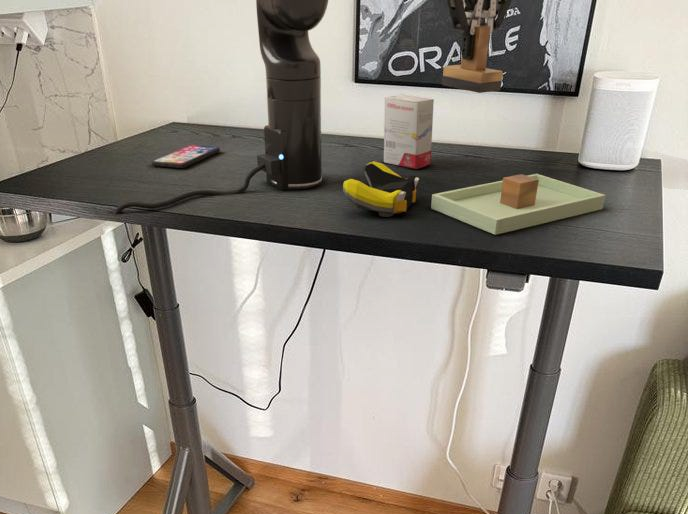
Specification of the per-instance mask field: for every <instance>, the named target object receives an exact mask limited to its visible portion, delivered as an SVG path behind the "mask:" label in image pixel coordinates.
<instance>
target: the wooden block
mask: <svg viewBox="0 0 688 514" xmlns="http://www.w3.org/2000/svg"><path fill="white" fill-rule="evenodd" d="M502 180H503V184H502V191H501V198H500V203H502V204H504V205H507V206H510V207H513V208H515V209H519V208H524V207H528V206H533V205H535V200H536V194H537V188H538V182H539V180H538V179H535V178H532V177H529V176H527V175H525V174H523V173H520V174H514V175H510V176H505V177H503V179H502Z"/></svg>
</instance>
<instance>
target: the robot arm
mask: <svg viewBox="0 0 688 514" xmlns="http://www.w3.org/2000/svg"><path fill="white" fill-rule="evenodd" d="M512 1H513V0H446V2H447V6H448V11H449V15H450V19H451V23H452V27H453V30H454V31H458V32H460V33H461V34H462V38H461V49H460V54H461V57H462V58H463V59H465V60H472V59H473V56H474V47H475V38H476V35H474V34H475V32H476V27H477V25H484V26H490V35H489V42H490V40H491V34H492V33H493V31H495V30H496V29H497V30H498V29H500V28H501V26H502V24H503V22H504V19H505V18H506V15H507V12H508V10H509V8H510V5H511V3H512ZM328 4H329V0H255V6H256V7H255V8H256V19H257V20H256V21H257V31H258V41H259V50H260V55H261V59H262V61H263V63H264V68H265V76H266V77H265V81H266V82H265V83H266V103H267V122H268V123H267V125H266V124H265V125H264V127H263V135H264V153H259V154H256V164H257V166H256V167H254V168H253V169H252V170H250V172H248V174H247V175H246V177H245V180H244V183H243V185H242V186H241V187H239V188H236V189H235V190H230V191H222V190H221V191H220V190H210V189H199V190H192V191H189V192H184V193H182V194H179V195H177V196H174V197H172V198H169V199H166V200H162V201H159V202H150V203H149V202H142V201H141V202H140V201H126V202H123V203H121V204H120V205H118V206H117V207H116V208H115V210H114V211H113V213H112V214H113V215H119V214H121V213H122V211H124V210H125V209H127V208H142V209H159V208H164V207H167V206H170V205H174V204H175V203H178V202H180V201H183V200H185V199H189V198H193V197H197V196H224V195H225V196H227V195H237V194H242V193H243V192H245V191H246V190H248V187H249V185H250V182H251V179H252V178H253V177H254V176H255V175H256V174H258V173H260V172H261V171H262V172H263V173H266V176H265V177H266V183H268V184H269V185H271V186H273V187H276V188H277V189H280V190H282V191H286V190H307V189H310V188H311V189H313V188H316V187H318V186H320V185H322V183H323V175H322V172H323V168H322V89H321V88H322V75H321V74H322V73H321V72H322V71H321V70H322V69H321V68H322V67H321V59H320V57H319V55H318V54H317V53H316V52H315V50H314V48H313V46H312V44H311V42H310V36H309V31H312V30H313V29H315V28H316V27H317V26H318V25H319V24H320V23H321V21H322V20H323V18H324V17H325V15H326V11H327V9H328ZM489 49H490V43H489V44H488V50H489ZM488 53H489V51H488V52H487V54H488Z"/></svg>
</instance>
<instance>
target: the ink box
mask: <svg viewBox="0 0 688 514" xmlns="http://www.w3.org/2000/svg"><path fill="white" fill-rule="evenodd" d="M434 103H435V99H434V98H428V97H423V96H418V95H411V94H406V93H405V94H404V93H398V94H395V95H389V96H386V97H384V116H383V117H384V121H383V122H384V123H383V127H384V128H383V129H384V130H383V163H384V164H389V165H394V166H399V167H404V168H409V169H413V170H418V169H421V168H424V167H426V166H428V165H431V164H432V143H433V141H432V140H433V122H434Z"/></svg>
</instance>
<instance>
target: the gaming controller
mask: <svg viewBox="0 0 688 514" xmlns="http://www.w3.org/2000/svg"><path fill="white" fill-rule="evenodd" d="M364 175H365V178H366V180H367V182H368V184H369V185H367V184H365V183H364V182H362V181H360V180H356V179H353V178H349V179H347V180H344V182H343V184H342V192H343V194H344V195H345V196H346V198H347V199H348V201H349V202H351V204H353V205H354V206H355V207H356V208H357V209H361V210H366V211H372V212H377V213H378V215H379V217H384V218H391V217H393V216H395V214H401V213H403V212H407V210H408V208H409V207H410V206H411V205H412V204H413V203H416V201H417V189H416V188H417V185H418V183H419V180H420V178H419V177H416V175H412V176H409V177H406V178H405V177H402V176H401V175H399V174H398V173H396V172H394V171H393V170H392V169H390V168H389V167H388V166H386V165H385V163H381V162H378V161H370V162H369V163H367V164H365V167H364Z"/></svg>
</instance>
